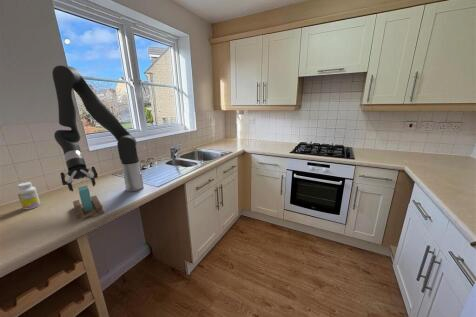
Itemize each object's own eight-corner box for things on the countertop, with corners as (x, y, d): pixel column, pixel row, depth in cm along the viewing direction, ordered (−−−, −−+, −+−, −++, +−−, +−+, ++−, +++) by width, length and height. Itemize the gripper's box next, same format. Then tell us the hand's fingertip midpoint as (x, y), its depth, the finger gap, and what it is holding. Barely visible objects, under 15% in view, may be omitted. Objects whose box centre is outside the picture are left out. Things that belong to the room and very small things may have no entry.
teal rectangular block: (91, 205, 103) (86, 185, 100) (93, 209, 99) (88, 188, 96) (82, 207, 100) (77, 187, 97) (84, 211, 96) (79, 191, 93)
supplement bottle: (27, 204, 105) (20, 182, 102) (43, 202, 108) (36, 180, 104) (19, 211, 99) (11, 187, 96) (36, 208, 102) (29, 185, 98)
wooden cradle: (97, 201, 109) (96, 195, 108) (103, 213, 97) (102, 206, 96) (74, 207, 102) (72, 201, 101) (77, 221, 90) (76, 214, 89)
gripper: (55, 160, 96) (63, 189, 91) (91, 154, 105) (100, 180, 100) (58, 168, 101) (65, 195, 96) (92, 162, 111) (100, 187, 106)
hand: (83, 188), depth 98 cm, fingers open, 8 cm apart
